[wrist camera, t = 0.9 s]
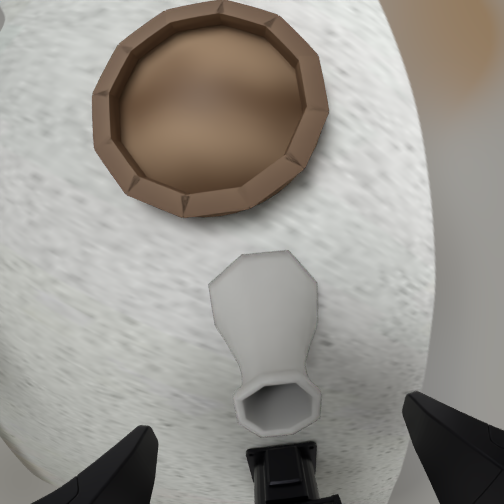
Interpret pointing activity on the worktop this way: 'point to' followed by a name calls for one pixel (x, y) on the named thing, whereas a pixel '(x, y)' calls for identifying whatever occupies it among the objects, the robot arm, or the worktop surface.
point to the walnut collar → (209, 109)
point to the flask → (269, 339)
